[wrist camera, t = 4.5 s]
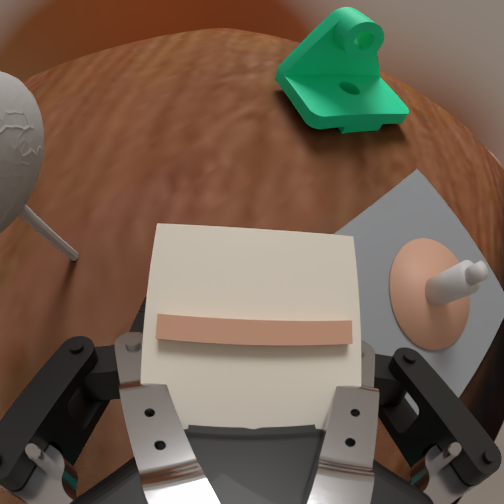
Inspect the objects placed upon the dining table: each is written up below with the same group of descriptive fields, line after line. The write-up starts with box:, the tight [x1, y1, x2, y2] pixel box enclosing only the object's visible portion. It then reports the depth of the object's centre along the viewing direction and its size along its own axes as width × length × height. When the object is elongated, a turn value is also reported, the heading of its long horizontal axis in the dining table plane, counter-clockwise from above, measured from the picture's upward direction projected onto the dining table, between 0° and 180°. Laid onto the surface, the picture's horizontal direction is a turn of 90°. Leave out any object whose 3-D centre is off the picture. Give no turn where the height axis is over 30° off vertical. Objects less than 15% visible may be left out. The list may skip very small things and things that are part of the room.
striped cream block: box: [140, 223, 361, 430], centre depth 11 cm, size 6×6×10 cm
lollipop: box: [0, 72, 79, 261], centre depth 10 cm, size 7×7×15 cm
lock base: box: [333, 169, 504, 415], centre depth 16 cm, size 16×16×6 cm
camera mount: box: [275, 7, 409, 133], centre depth 20 cm, size 12×8×10 cm, turn 109°
